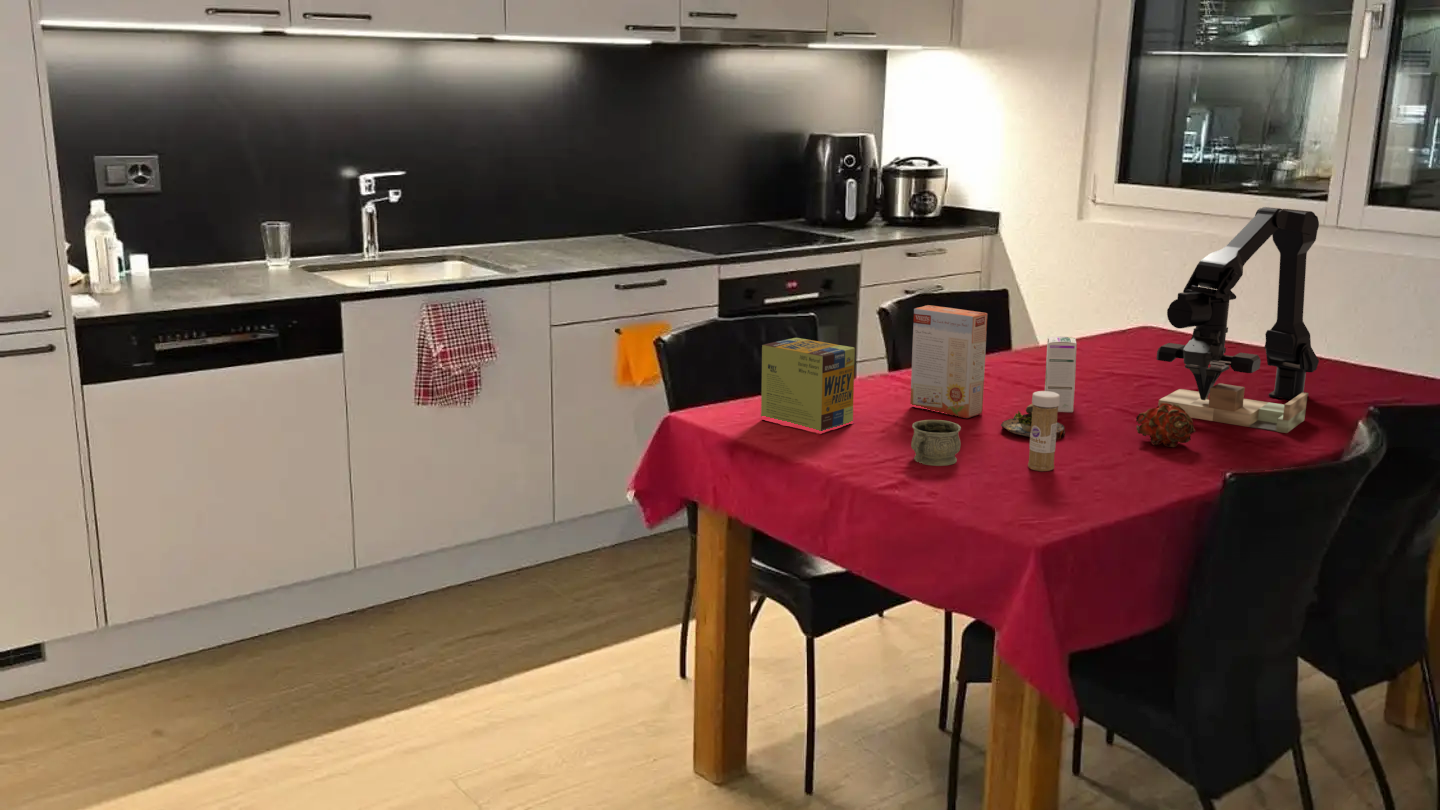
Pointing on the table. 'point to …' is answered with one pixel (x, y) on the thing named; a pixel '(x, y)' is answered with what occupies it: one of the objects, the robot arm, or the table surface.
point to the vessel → (936, 442)
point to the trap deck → (1243, 411)
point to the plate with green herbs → (1026, 424)
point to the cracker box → (948, 360)
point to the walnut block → (1226, 397)
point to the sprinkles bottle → (1043, 430)
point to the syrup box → (1061, 370)
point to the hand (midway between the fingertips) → (1203, 399)
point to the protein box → (808, 383)
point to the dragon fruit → (1166, 425)
